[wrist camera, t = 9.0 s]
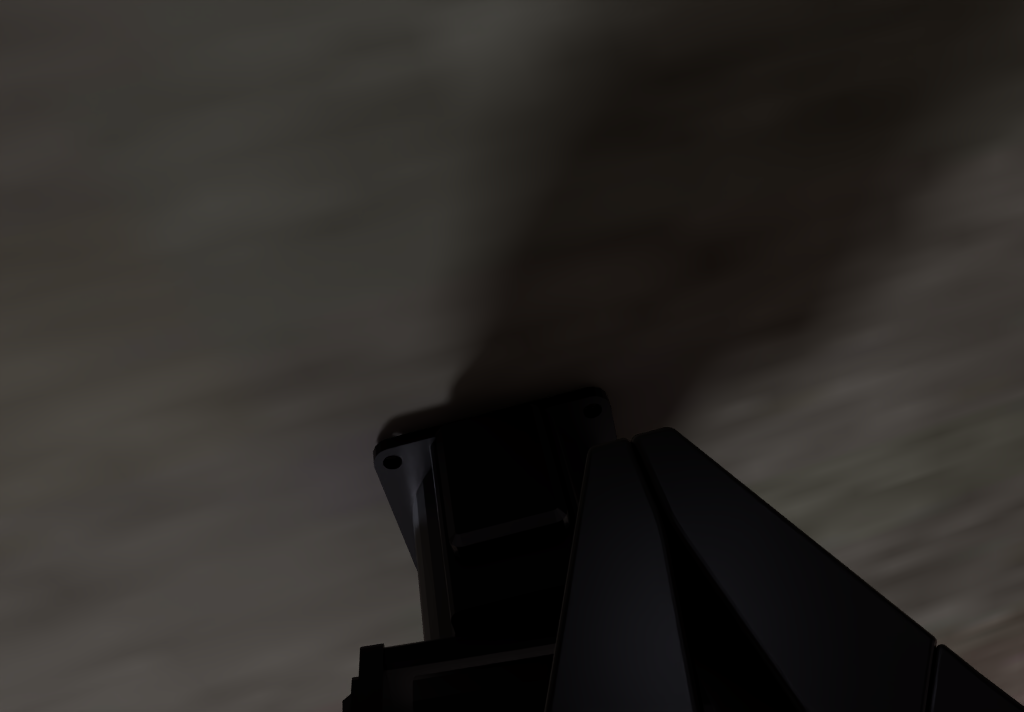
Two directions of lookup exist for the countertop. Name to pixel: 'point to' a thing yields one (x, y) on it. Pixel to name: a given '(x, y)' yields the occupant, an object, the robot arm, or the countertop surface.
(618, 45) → the countertop surface
